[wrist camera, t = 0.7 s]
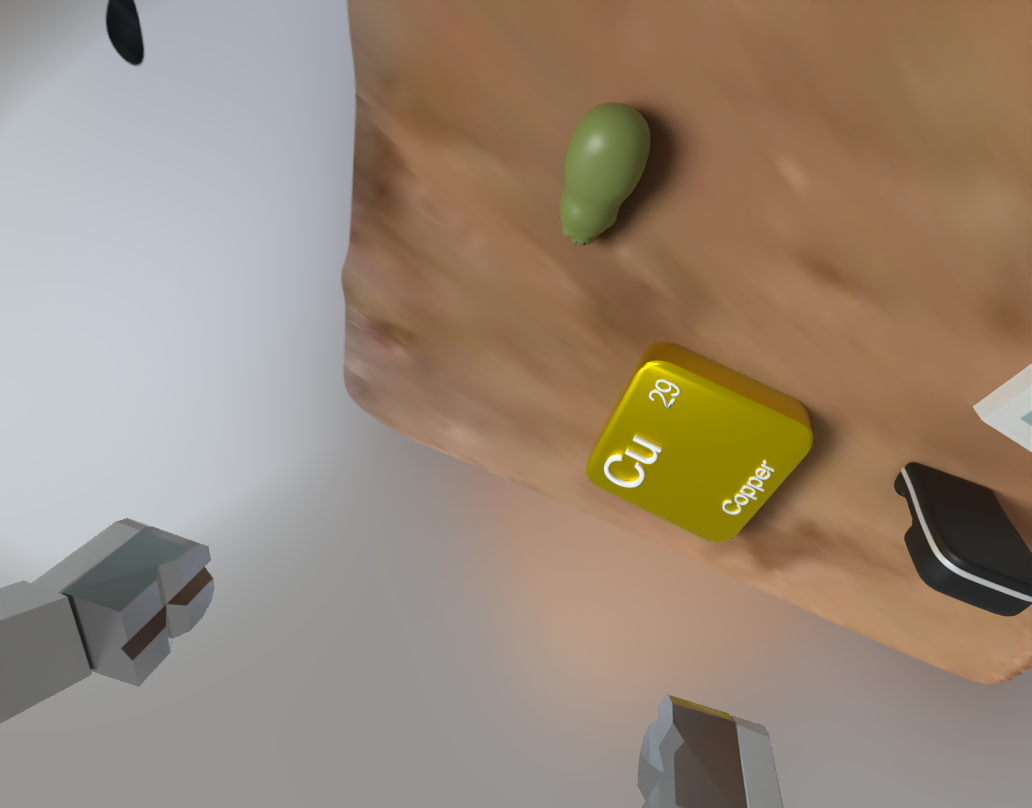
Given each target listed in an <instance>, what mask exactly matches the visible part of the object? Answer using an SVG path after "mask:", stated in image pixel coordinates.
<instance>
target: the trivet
mask: <svg viewBox="0 0 1032 808" xmlns="http://www.w3.org/2000/svg"><path fill="white" fill-rule="evenodd" d="M973 408H974V410H975V411H976V412H977V414H978V415H979V417H980V418H981V420H982V421H984V422H985V423H987V424H988V425H990V426H992V427H993V428H995V429H996V430H998V431H999V432H1001V433H1002V434H1004V435H1006V436H1007V437H1009V438H1010V439H1012V440H1013V441H1015V442H1017V443H1018V444H1020V445H1021V446H1023V447H1024V448H1026V449H1028V450H1029V451H1031V452H1032V364H1030V365H1029V366H1027V367H1026V368H1025V369H1023V370H1022V371H1021V372H1019V373H1018V374H1016V375H1015V376H1014V377H1012V378H1011V379H1010V380H1008V381H1007V382H1006V383H1004V384H1003V385H1001V386H1000V387H999V388H997V389H996V390H995V391H993V392H992V393H991V394H989V395H988V396H986V397H985V398H984V399H982V400H981V401H980V402H978V403H977V404H976V405H974V406H973Z"/></svg>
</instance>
